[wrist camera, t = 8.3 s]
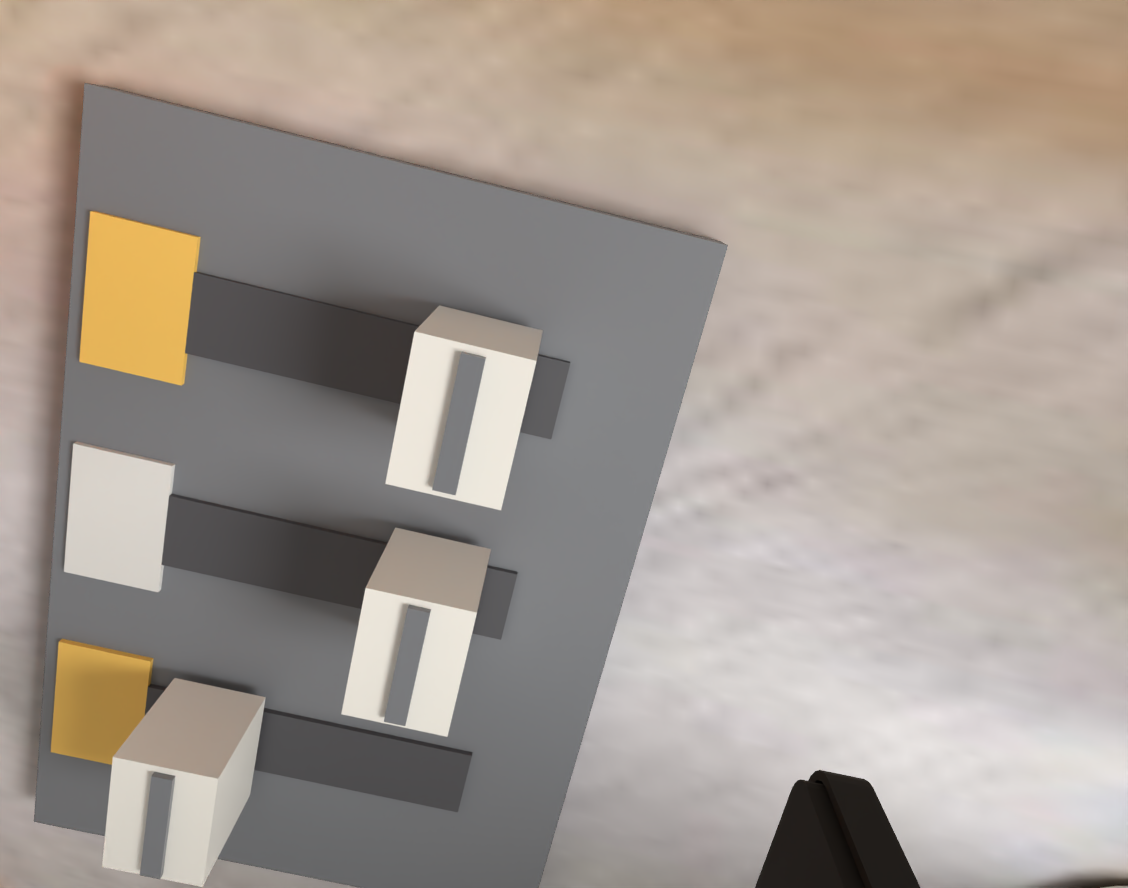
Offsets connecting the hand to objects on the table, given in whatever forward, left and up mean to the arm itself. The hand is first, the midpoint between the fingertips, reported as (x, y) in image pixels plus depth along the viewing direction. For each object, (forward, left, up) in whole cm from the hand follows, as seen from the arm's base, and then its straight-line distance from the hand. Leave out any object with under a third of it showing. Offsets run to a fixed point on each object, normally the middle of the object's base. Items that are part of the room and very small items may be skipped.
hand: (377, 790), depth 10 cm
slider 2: (+1, 0, -17) cm, 17 cm away
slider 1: (-7, +14, -17) cm, 23 cm away
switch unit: (-3, +7, -18) cm, 20 cm away
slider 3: (-5, +5, -17) cm, 18 cm away
